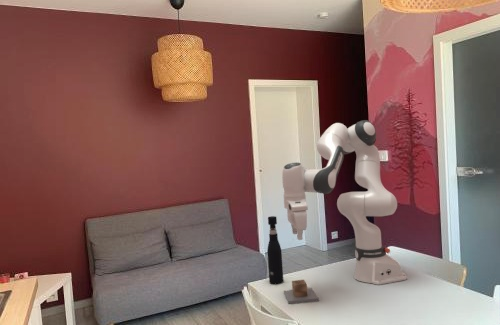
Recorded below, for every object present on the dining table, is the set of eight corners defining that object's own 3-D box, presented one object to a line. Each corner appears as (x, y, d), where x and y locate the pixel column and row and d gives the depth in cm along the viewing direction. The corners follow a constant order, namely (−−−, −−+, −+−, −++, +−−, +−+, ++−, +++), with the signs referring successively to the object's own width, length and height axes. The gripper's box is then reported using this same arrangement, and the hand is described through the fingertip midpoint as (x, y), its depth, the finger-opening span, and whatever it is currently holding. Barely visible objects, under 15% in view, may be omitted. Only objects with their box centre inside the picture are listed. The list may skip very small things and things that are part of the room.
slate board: (311, 290, 160) (311, 288, 160) (318, 301, 149) (318, 298, 149) (283, 293, 159) (283, 290, 159) (288, 304, 148) (288, 301, 148)
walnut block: (304, 291, 157) (303, 279, 157) (307, 296, 152) (306, 283, 152) (292, 292, 156) (291, 280, 156) (295, 297, 151) (294, 285, 151)
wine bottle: (283, 279, 176) (279, 215, 175) (283, 284, 170) (279, 218, 169) (269, 279, 177) (265, 216, 176) (269, 284, 171) (264, 218, 170)
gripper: (282, 200, 164) (285, 231, 165) (292, 207, 144) (294, 243, 144) (297, 198, 165) (299, 230, 165) (308, 206, 144) (311, 242, 145)
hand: (297, 236), depth 155 cm, fingers open, 8 cm apart
